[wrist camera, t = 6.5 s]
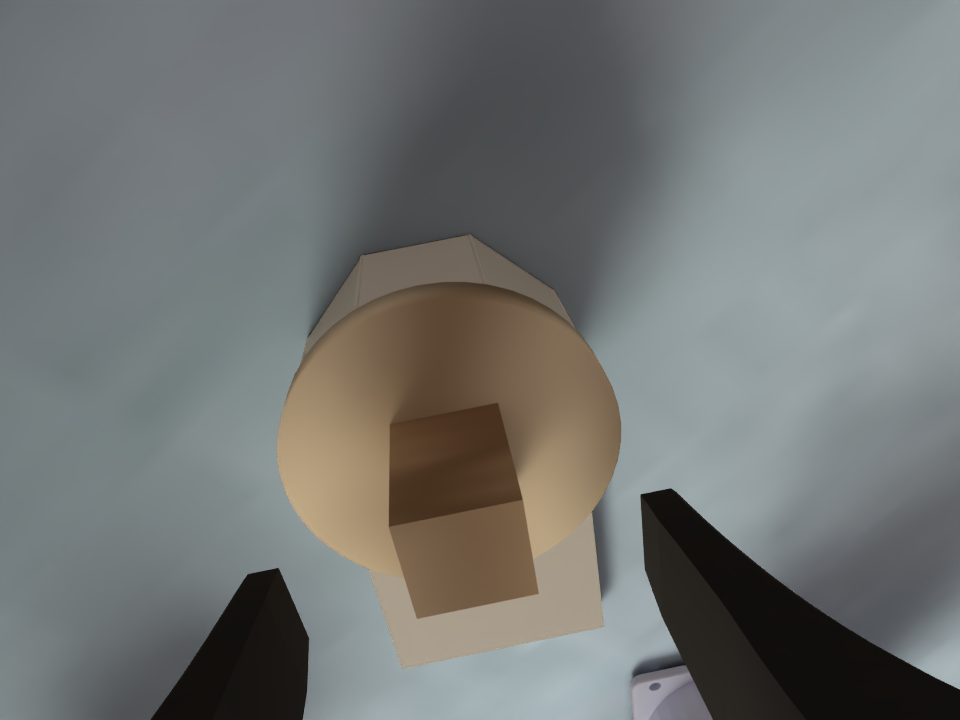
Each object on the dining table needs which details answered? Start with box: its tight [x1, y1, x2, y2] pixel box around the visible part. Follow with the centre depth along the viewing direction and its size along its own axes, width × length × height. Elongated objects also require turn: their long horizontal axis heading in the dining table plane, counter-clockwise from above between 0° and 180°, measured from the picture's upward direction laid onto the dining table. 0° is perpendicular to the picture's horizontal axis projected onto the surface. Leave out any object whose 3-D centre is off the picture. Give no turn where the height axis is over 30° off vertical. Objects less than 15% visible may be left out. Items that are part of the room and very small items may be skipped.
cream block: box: [368, 512, 604, 669], centre depth 24 cm, size 8×8×1 cm
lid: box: [277, 282, 621, 619], centre depth 15 cm, size 8×8×4 cm
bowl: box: [301, 234, 576, 362], centre depth 19 cm, size 8×8×4 cm
